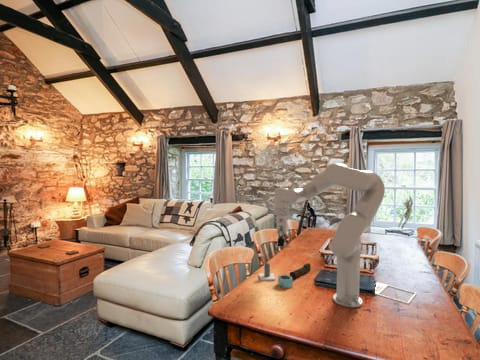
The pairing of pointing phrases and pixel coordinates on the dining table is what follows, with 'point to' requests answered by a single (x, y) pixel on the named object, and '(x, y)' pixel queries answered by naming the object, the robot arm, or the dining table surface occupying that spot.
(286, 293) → the dining table surface
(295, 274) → the dark brown bar
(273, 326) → the dining table surface
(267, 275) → the grey peg on base
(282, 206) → the robot arm
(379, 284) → the photo frame
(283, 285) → the collar
